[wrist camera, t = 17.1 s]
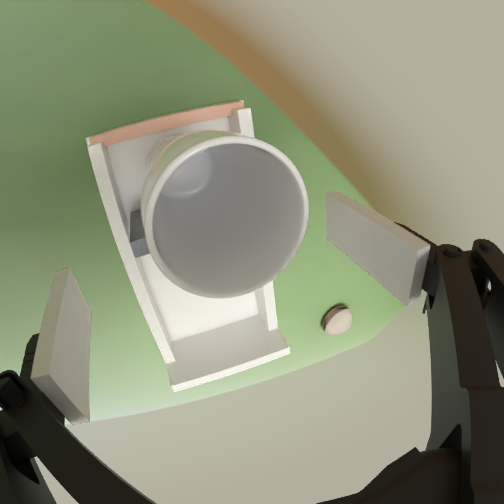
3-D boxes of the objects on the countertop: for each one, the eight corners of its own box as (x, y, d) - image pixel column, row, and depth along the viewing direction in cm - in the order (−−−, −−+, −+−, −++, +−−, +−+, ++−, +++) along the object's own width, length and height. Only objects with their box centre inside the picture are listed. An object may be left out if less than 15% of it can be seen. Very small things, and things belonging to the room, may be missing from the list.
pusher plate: (130, 212, 25) (129, 242, 20) (233, 184, 27) (258, 206, 22) (134, 225, 26) (135, 258, 21) (235, 197, 28) (260, 222, 23)
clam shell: (336, 297, 40) (347, 308, 38) (354, 311, 42) (365, 322, 40) (313, 322, 40) (323, 334, 38) (333, 334, 43) (343, 345, 41)
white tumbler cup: (140, 209, 25) (153, 313, 12) (136, 127, 22) (136, 138, 10) (219, 202, 27) (304, 288, 15) (219, 123, 25) (318, 135, 12)
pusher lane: (87, 136, 22) (70, 149, 16) (240, 100, 25) (272, 101, 19) (160, 346, 34) (169, 393, 28) (269, 312, 36) (294, 351, 31)
